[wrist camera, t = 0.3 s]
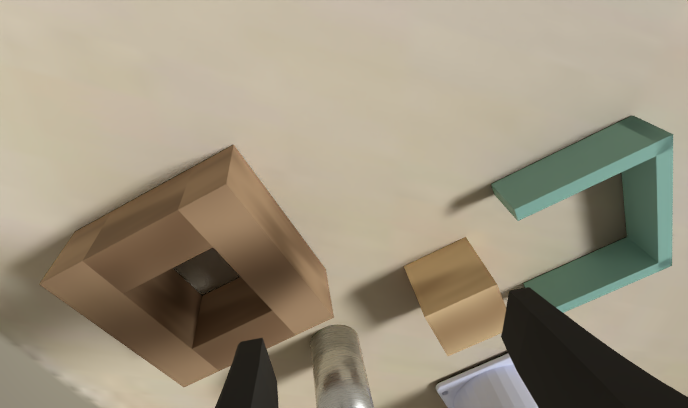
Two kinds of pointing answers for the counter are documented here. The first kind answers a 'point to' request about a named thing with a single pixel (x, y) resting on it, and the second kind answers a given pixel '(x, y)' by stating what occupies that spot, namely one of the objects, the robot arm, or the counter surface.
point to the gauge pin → (339, 369)
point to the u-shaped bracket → (639, 202)
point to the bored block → (174, 291)
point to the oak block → (457, 296)
